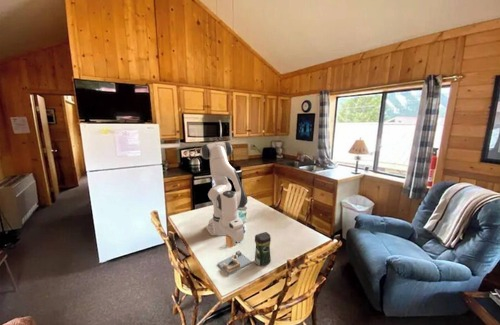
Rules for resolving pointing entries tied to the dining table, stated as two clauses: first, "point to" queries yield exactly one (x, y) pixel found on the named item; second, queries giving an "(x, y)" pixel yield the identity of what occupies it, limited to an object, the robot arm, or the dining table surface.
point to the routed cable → (235, 256)
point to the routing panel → (241, 259)
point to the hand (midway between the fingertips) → (230, 242)
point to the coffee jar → (262, 248)
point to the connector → (229, 241)
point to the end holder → (236, 266)
